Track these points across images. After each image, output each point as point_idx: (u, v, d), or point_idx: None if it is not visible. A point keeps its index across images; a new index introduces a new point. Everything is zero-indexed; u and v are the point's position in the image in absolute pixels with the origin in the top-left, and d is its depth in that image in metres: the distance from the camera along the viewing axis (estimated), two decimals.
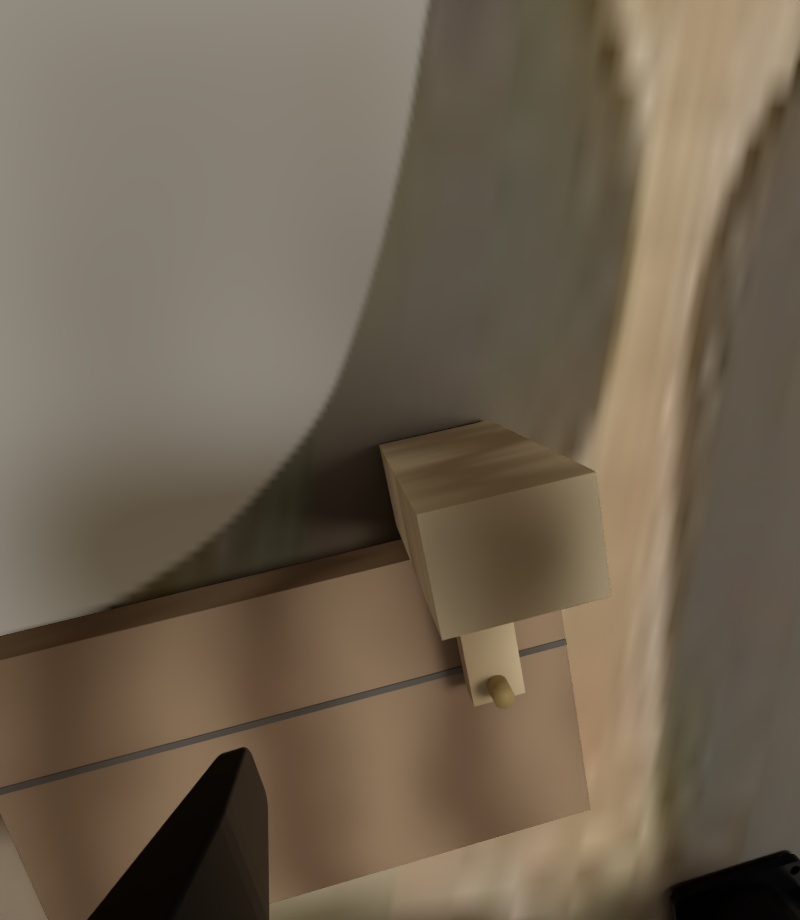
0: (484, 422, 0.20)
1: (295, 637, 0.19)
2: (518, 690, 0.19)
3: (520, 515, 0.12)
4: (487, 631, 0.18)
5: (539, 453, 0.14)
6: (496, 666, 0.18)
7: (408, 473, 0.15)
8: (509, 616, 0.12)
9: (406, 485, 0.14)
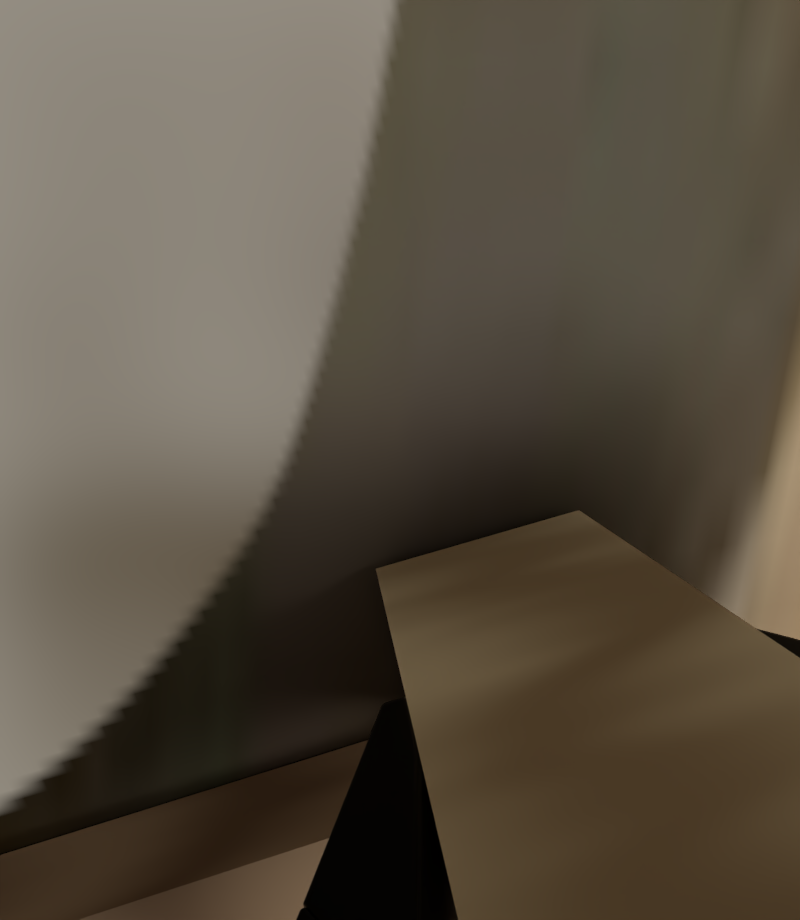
0: (572, 516, 0.10)
1: None
2: None
3: None
4: None
5: None
6: None
7: (449, 735, 0.06)
8: None
9: (453, 828, 0.05)
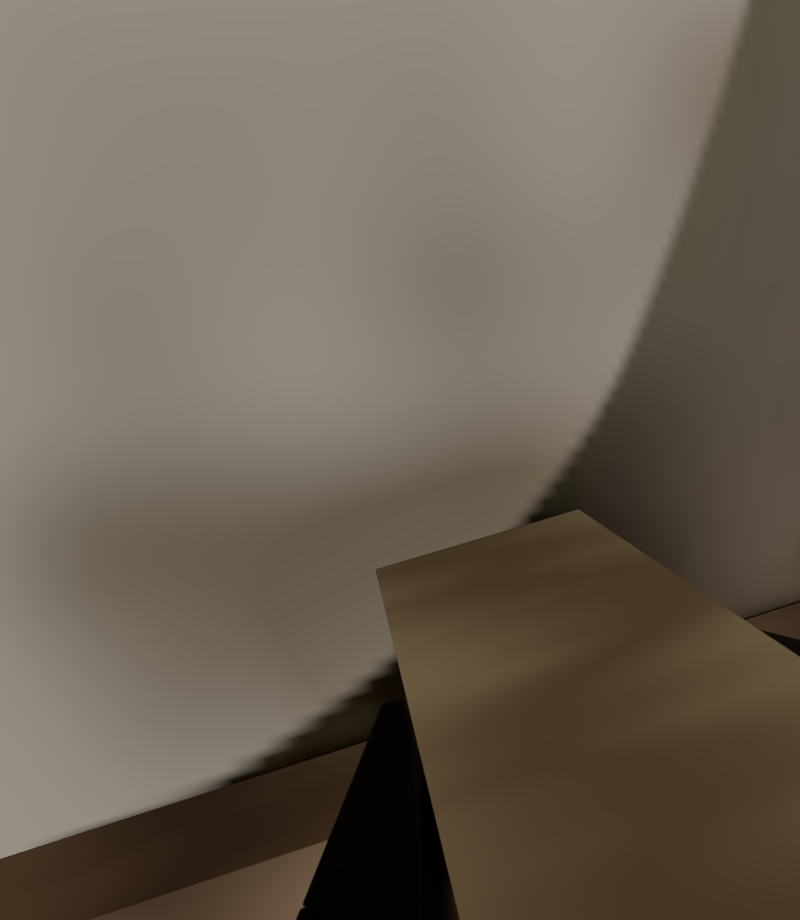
0: (571, 515, 0.10)
1: None
2: None
3: None
4: None
5: None
6: None
7: (450, 736, 0.06)
8: None
9: (455, 831, 0.05)
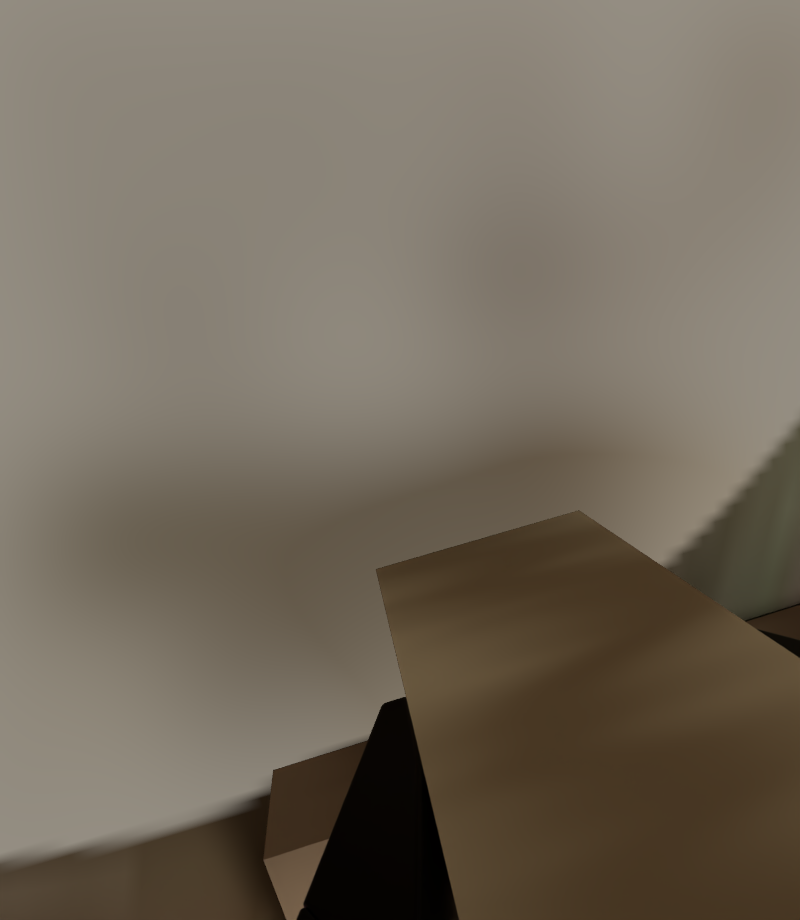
0: (572, 516, 0.10)
1: None
2: None
3: None
4: None
5: None
6: None
7: (450, 736, 0.06)
8: None
9: (454, 828, 0.05)
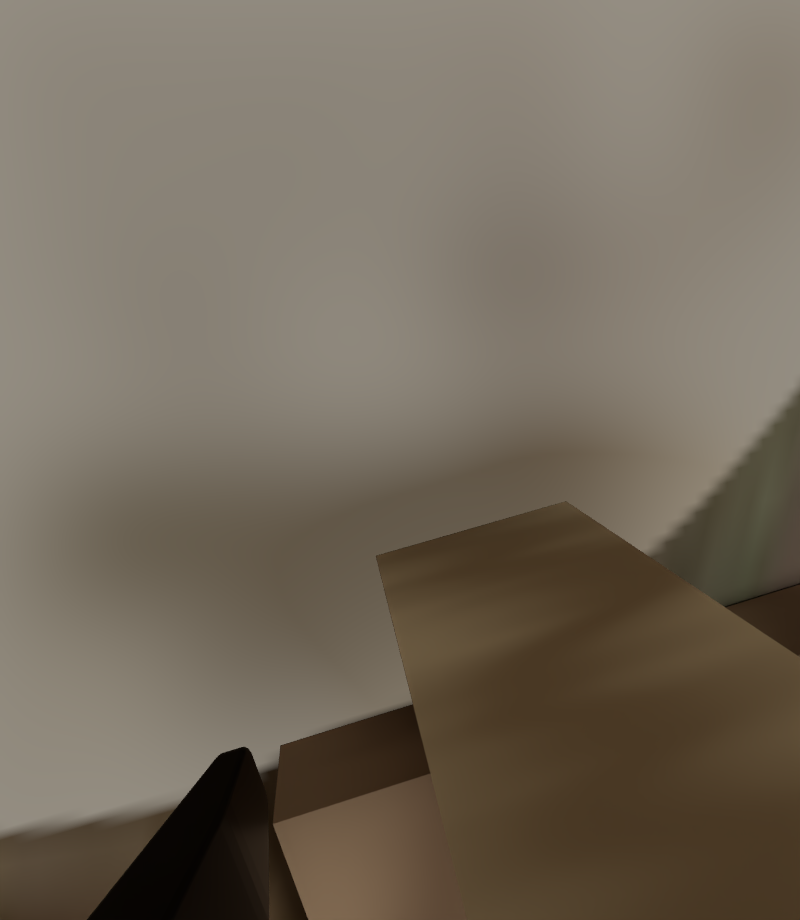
0: (559, 507, 0.11)
1: None
2: None
3: None
4: None
5: (763, 662, 0.06)
6: None
7: (442, 695, 0.07)
8: None
9: (443, 769, 0.06)
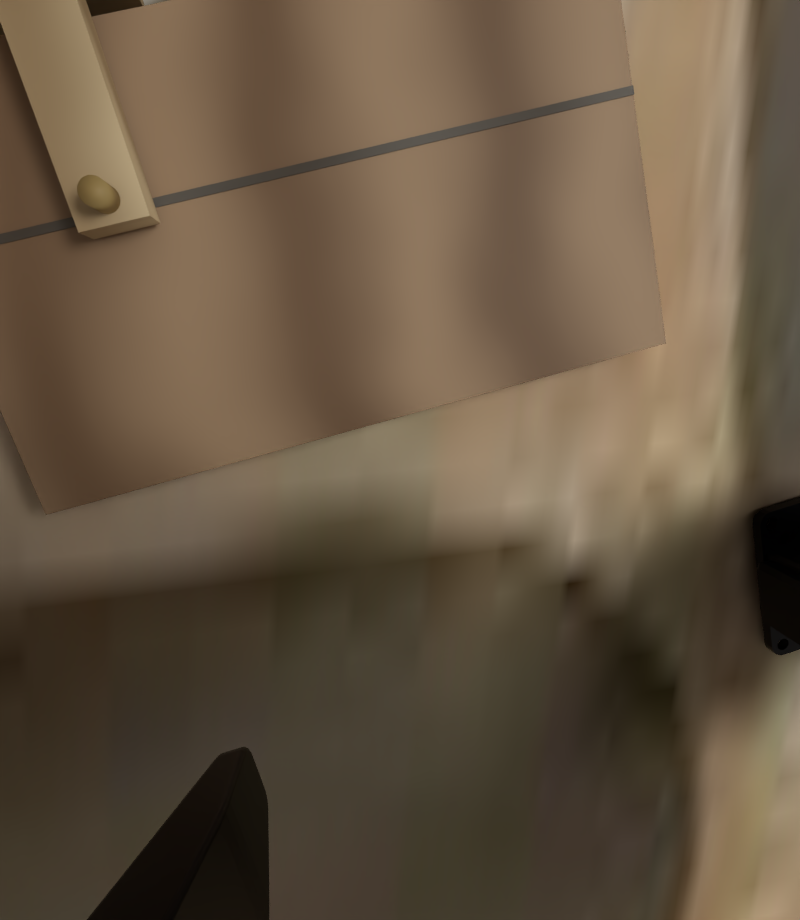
0: None
1: (300, 51, 0.15)
2: (138, 210, 0.14)
3: None
4: (74, 111, 0.13)
5: None
6: (99, 170, 0.14)
7: None
8: None
9: None
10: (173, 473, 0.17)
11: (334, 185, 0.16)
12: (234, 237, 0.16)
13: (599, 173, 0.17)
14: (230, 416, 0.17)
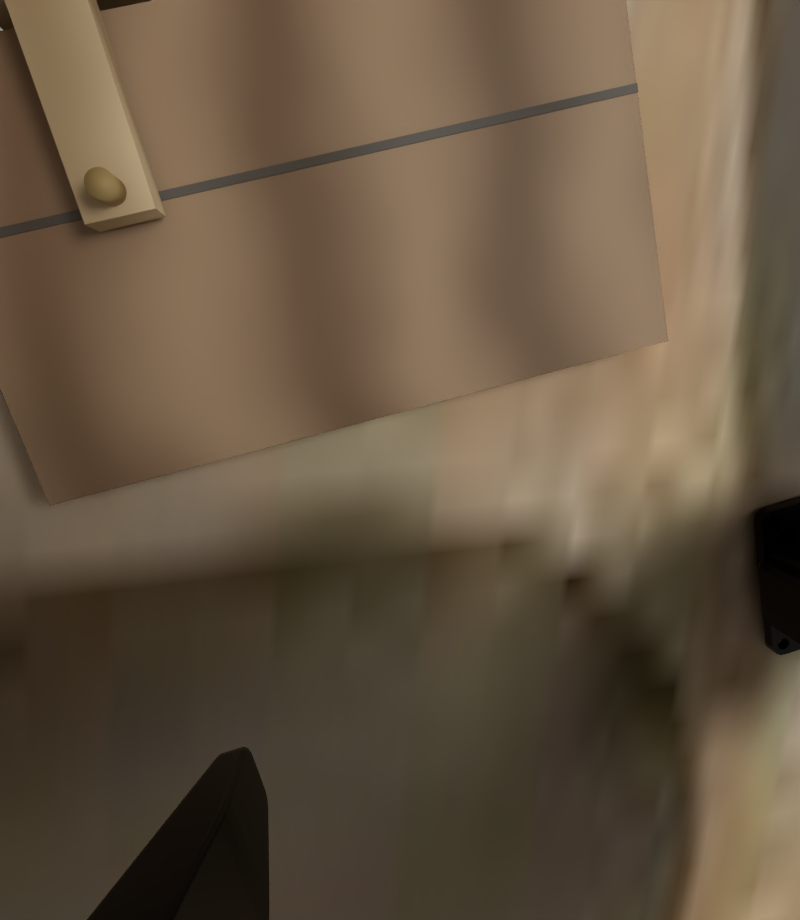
0: None
1: (306, 46, 0.15)
2: (144, 202, 0.14)
3: None
4: (82, 104, 0.14)
5: None
6: (105, 162, 0.14)
7: None
8: None
9: None
10: (176, 465, 0.17)
11: (339, 180, 0.16)
12: (239, 231, 0.16)
13: (602, 170, 0.17)
14: (233, 409, 0.17)
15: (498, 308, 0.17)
